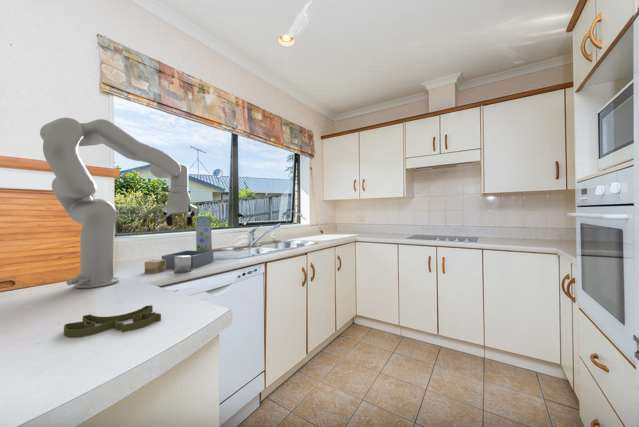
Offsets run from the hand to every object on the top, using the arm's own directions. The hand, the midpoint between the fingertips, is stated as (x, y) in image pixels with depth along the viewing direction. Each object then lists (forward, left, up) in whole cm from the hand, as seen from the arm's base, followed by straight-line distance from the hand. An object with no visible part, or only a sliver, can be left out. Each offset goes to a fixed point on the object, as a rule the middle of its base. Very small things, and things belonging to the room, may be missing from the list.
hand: (179, 225), depth 128 cm
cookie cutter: (-64, -25, -21) cm, 72 cm away
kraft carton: (-7, +7, -21) cm, 23 cm away
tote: (+10, +1, -21) cm, 23 cm away
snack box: (+34, +6, -21) cm, 40 cm away
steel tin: (-7, -6, -21) cm, 23 cm away
